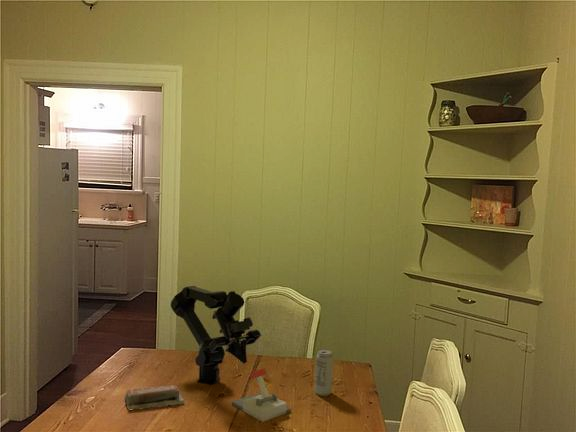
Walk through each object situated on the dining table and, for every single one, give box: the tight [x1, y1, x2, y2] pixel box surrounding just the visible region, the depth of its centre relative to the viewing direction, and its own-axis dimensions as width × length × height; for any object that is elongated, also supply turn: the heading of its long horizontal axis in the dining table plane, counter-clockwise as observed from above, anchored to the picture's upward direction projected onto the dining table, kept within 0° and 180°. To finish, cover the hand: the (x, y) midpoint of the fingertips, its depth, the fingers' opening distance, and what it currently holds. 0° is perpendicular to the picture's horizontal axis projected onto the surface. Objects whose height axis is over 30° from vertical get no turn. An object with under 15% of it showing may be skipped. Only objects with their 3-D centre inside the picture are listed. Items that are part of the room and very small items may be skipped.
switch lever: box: [249, 367, 274, 403], centre depth 172 cm, size 2×5×10 cm
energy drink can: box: [314, 349, 334, 397], centre depth 188 cm, size 6×6×15 cm
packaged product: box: [124, 384, 185, 410], centre depth 175 cm, size 18×5×10 cm
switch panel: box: [231, 392, 292, 423], centre depth 174 cm, size 16×12×5 cm
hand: (245, 362), depth 178 cm, fingers closed
